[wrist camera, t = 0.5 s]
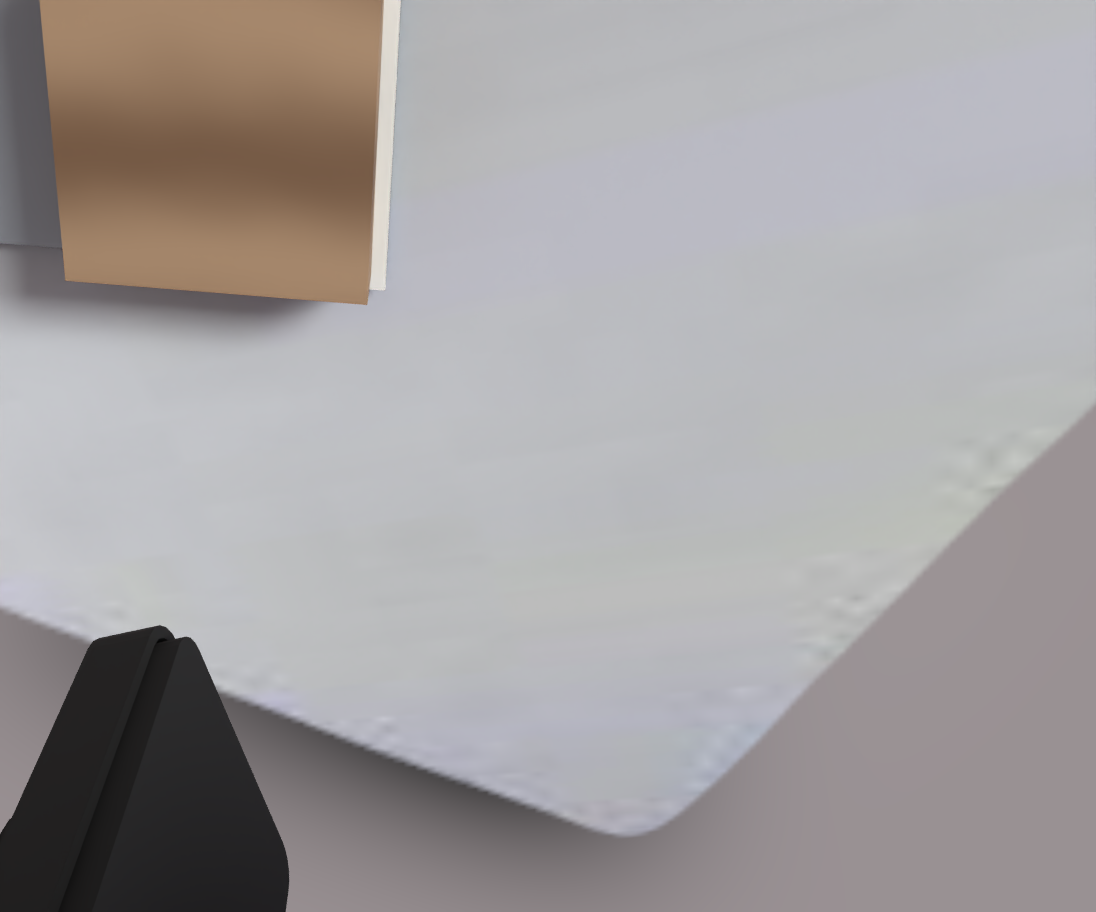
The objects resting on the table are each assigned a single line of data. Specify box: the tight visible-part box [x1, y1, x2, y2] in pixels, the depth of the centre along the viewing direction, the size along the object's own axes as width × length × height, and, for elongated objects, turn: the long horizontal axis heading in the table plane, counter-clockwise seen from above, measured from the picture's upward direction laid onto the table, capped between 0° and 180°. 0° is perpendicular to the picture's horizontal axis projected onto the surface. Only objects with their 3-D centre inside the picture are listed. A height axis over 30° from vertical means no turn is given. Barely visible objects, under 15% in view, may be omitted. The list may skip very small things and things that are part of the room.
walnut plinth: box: [39, 0, 384, 305], centre depth 31 cm, size 9×9×3 cm
